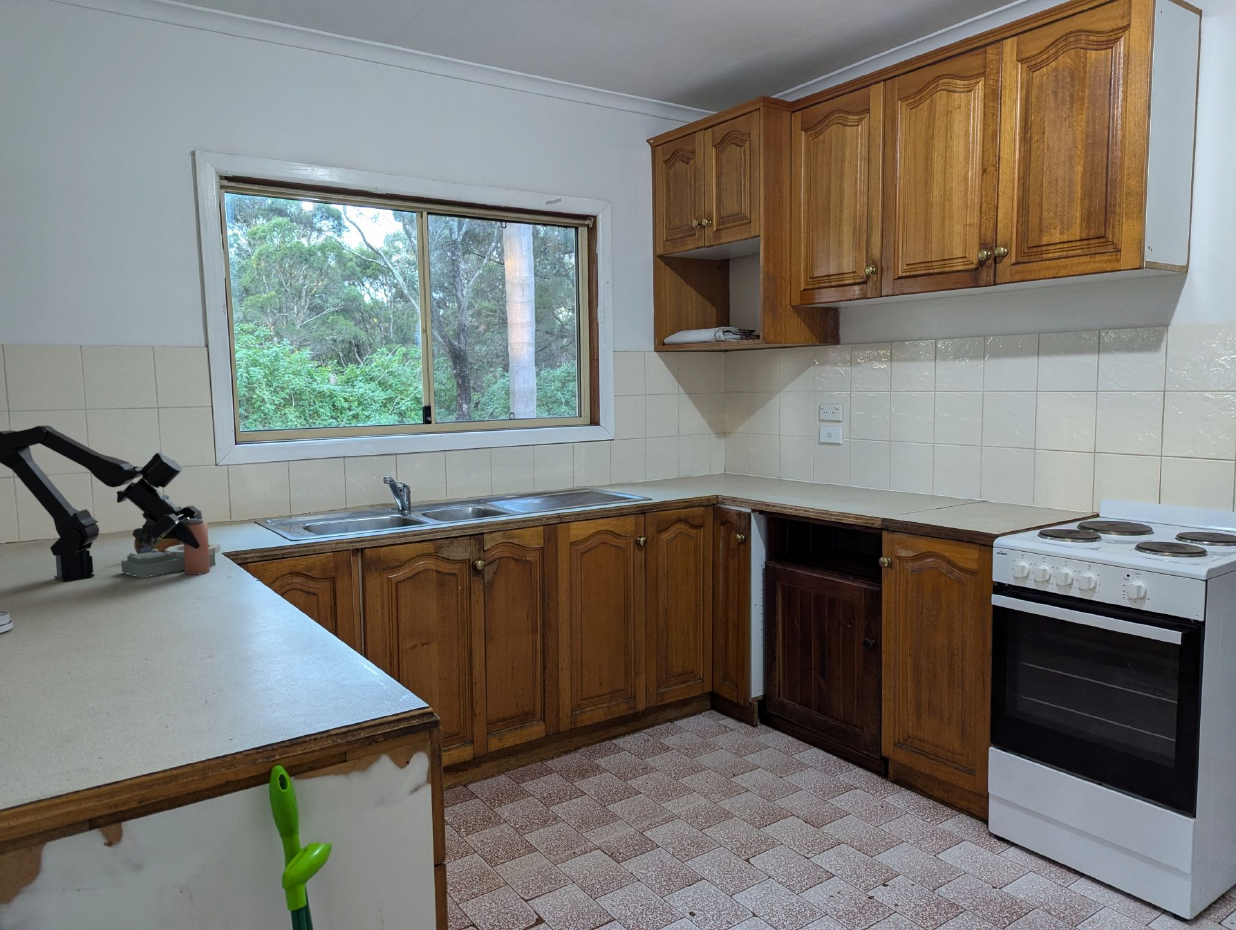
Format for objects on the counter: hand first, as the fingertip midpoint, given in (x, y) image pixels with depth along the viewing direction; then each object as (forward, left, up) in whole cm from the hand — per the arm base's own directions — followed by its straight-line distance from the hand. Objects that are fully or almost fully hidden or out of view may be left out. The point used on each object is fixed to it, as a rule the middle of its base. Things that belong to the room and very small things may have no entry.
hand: (202, 545), depth 207 cm
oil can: (-1, +1, -7) cm, 7 cm away
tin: (+4, +28, -7) cm, 29 cm away
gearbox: (-2, +11, -7) cm, 13 cm away
